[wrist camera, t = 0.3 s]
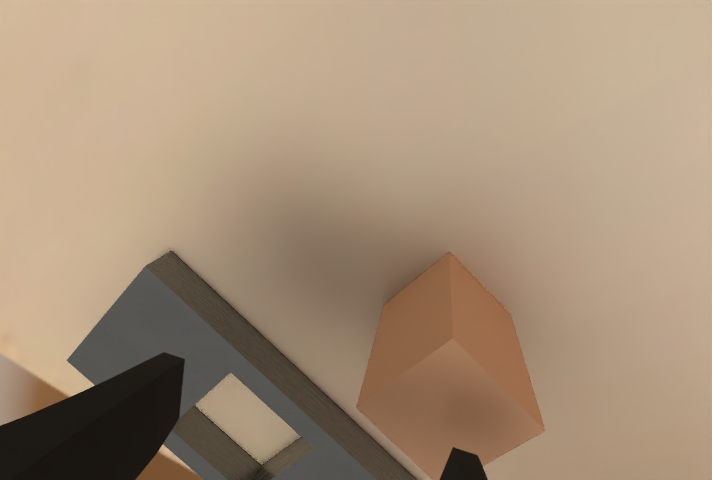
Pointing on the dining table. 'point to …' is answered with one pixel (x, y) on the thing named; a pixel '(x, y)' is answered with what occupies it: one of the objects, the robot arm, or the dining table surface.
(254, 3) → the dining table surface
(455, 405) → the square peg
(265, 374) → the grey square hole board
